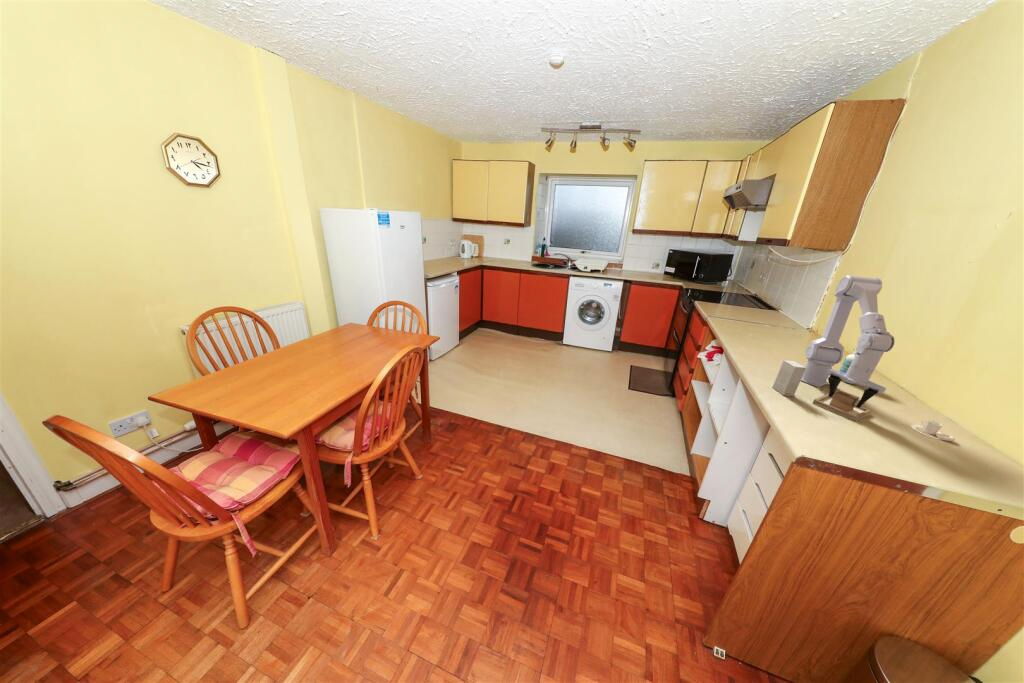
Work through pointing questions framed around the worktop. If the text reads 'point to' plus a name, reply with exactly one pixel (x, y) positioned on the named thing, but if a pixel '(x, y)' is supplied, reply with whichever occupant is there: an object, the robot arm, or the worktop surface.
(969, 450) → the worktop surface
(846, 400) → the cube
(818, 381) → the robot arm
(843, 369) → the pill bottle
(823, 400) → the tray
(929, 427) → the teacup and saucer
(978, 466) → the worktop surface
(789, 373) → the skincare box
